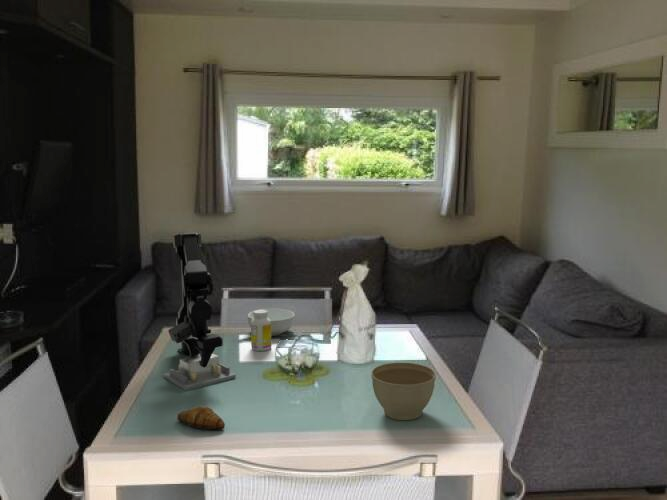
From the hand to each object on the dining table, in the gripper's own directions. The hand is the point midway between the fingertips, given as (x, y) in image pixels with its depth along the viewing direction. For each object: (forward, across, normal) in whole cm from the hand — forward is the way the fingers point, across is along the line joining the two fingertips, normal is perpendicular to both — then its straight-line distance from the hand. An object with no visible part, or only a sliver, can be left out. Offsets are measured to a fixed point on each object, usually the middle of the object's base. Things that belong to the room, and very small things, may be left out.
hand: (199, 364), depth 191 cm
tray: (+4, 0, 0) cm, 4 cm away
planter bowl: (+4, +56, +28) cm, 63 cm away
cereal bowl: (+4, -26, +42) cm, 49 cm away
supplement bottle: (+4, -12, +29) cm, 32 cm away
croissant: (+4, +30, -15) cm, 34 cm away
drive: (+3, 0, 0) cm, 3 cm away
